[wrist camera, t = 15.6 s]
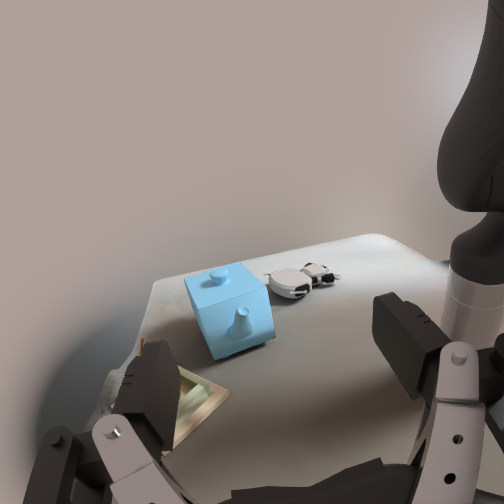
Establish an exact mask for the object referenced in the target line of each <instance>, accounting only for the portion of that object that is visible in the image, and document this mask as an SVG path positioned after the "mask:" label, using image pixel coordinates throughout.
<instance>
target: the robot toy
mask: <svg viewBox="0 0 504 504" xmlns="http://www.w3.org/2000/svg"><path fill="white" fill-rule="evenodd" d="M262 275H269V286H270V288H271V289H272V290H273V291H274V292H275V293H277V294H279V295H281V296H283V297H286V298H293V299H297V298H299V297H301V296H303V295H305V294H308V293H309V292H310V291H311V290H312V285H316V284H317V285H319V284H322V283H323V282H325V283H331V282H334V279H335V280H339V279H341V276H340V275H339V274H335V275H334V274H333V273H330V274H328V267H325V266H324V265H318V264H314V263H308V264H306V265H305V267H304V268H303V269H302V270H300V271H299V270H296V269H292V268H285V269H282V270H278V271H275V272H272V273H271V274H266V273H263V274H262Z"/></svg>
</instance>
